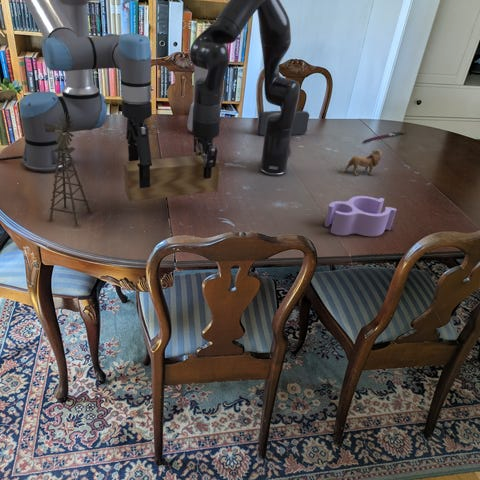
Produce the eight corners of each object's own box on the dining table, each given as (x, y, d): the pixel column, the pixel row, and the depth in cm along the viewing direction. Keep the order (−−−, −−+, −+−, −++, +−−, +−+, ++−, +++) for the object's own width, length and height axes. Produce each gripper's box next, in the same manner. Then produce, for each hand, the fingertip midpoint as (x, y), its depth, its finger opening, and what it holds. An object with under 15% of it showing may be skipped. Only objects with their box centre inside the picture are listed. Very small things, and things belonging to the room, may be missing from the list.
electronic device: (200, 136, 194) (204, 61, 178) (186, 132, 197) (188, 57, 181) (217, 129, 203) (222, 57, 187) (203, 125, 206) (207, 53, 190)
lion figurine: (372, 168, 182) (378, 147, 177) (380, 174, 178) (386, 152, 173) (340, 171, 177) (345, 148, 172) (347, 177, 173) (352, 154, 168)
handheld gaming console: (303, 132, 210) (307, 110, 205) (306, 134, 208) (310, 112, 203) (256, 133, 203) (259, 111, 198) (258, 135, 201) (261, 113, 196)
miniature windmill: (76, 226, 128) (64, 120, 112) (48, 221, 129) (32, 115, 113) (91, 211, 136) (82, 109, 120) (65, 206, 137) (52, 104, 121)
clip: (337, 240, 135) (342, 219, 131) (318, 218, 145) (322, 198, 141) (395, 233, 141) (402, 213, 137) (373, 213, 151) (378, 194, 147)
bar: (129, 201, 130) (127, 170, 125) (124, 191, 135) (123, 161, 130) (217, 191, 140) (219, 162, 135) (210, 182, 144) (212, 154, 139)
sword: (401, 131, 224) (402, 128, 223) (406, 133, 222) (407, 131, 221) (358, 142, 208) (358, 140, 207) (363, 145, 206) (363, 142, 205)
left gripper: (163, 115, 111) (164, 195, 122) (140, 86, 130) (142, 158, 141) (132, 116, 108) (135, 198, 119) (112, 87, 127) (117, 160, 138)
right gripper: (228, 126, 125) (223, 182, 134) (210, 109, 136) (207, 162, 145) (201, 127, 122) (199, 185, 131) (185, 110, 133) (184, 164, 142)
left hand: (139, 176), depth 130 cm, fingers open, 13 cm apart
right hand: (203, 172), depth 138 cm, fingers closed on bar, 6 cm apart
